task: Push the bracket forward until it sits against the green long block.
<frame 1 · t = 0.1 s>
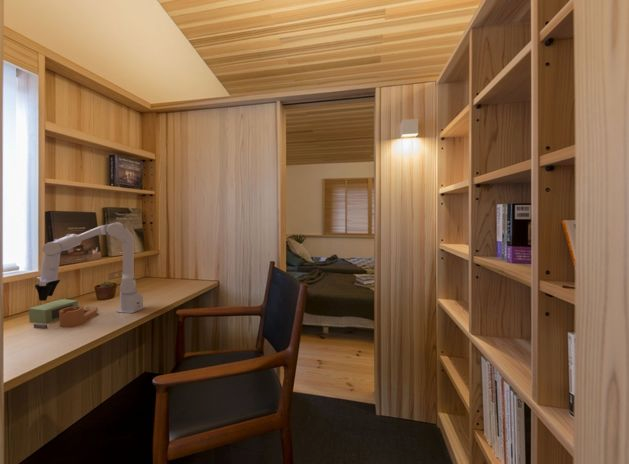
hand: (46, 298, 130), 11 cm above the table, tool pointing down, fingers open, 7 cm apart
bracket: (79, 320, 132), on the table
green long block: (55, 316, 136), on the table
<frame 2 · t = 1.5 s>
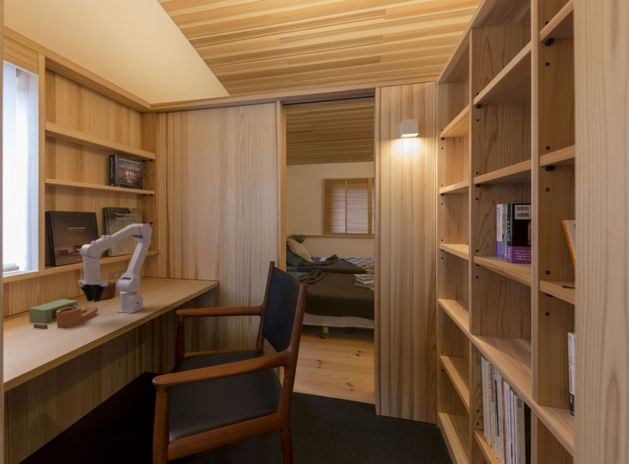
hand: (93, 301, 130), 9 cm above the table, tool pointing down, fingers open, 3 cm apart
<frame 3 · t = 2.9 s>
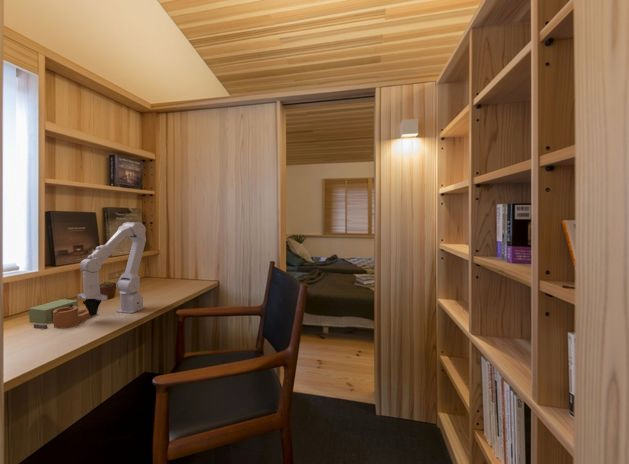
hand: (93, 315, 130), 3 cm above the table, tool pointing down, fingers closed
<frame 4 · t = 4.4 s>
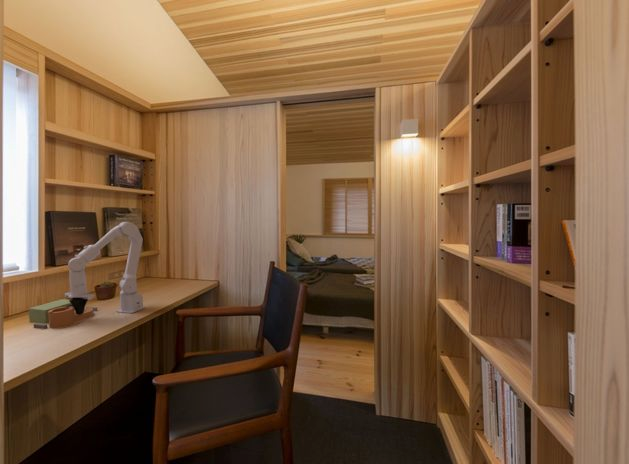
hand: (80, 313, 132), 3 cm above the table, tool pointing down, fingers closed
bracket: (72, 321, 132), on the table, touching gripper
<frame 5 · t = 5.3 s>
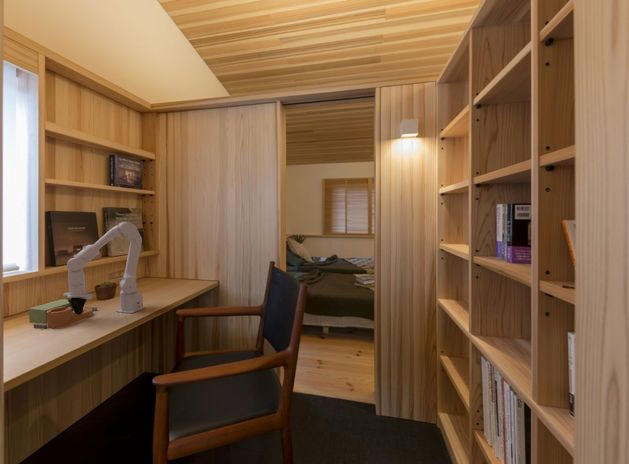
hand: (78, 313, 132), 3 cm above the table, tool pointing down, fingers closed
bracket: (71, 321, 132), on the table
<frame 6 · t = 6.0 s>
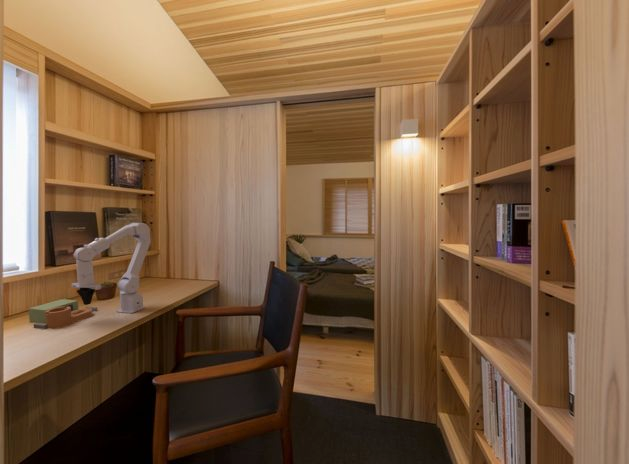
hand: (87, 304, 131), 8 cm above the table, tool pointing down, fingers closed
nothing on the table moved.
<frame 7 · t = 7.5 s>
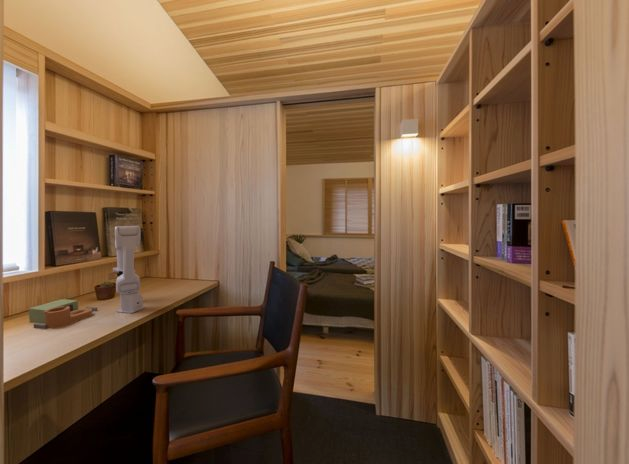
hand: (124, 285, 156), 9 cm above the table, tool pointing down, fingers closed
nothing on the table moved.
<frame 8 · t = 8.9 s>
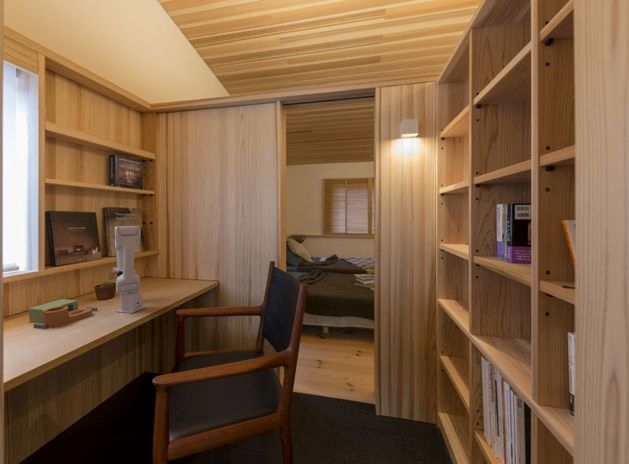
hand: (124, 285, 156), 9 cm above the table, tool pointing down, fingers closed
at the end: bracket 1.9 cm from the target spot, on the table; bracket moved 4.6 cm from its start; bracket tilted 0° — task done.
